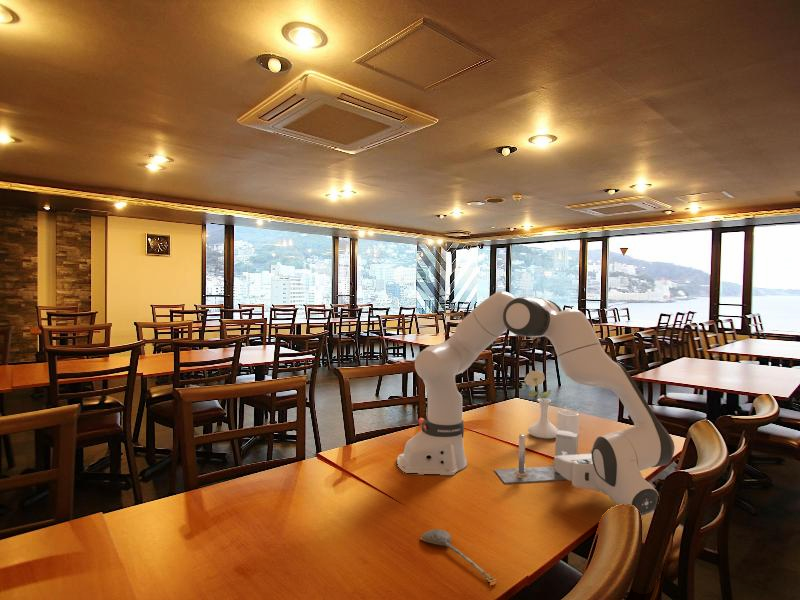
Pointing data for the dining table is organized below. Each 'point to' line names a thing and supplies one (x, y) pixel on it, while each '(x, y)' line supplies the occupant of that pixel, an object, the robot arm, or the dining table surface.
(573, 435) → the skincare box
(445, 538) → the soupspoon
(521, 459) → the steel pin
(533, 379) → the flower in vase
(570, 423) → the drinking glass
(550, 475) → the bolt-hole strip
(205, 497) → the dining table surface
